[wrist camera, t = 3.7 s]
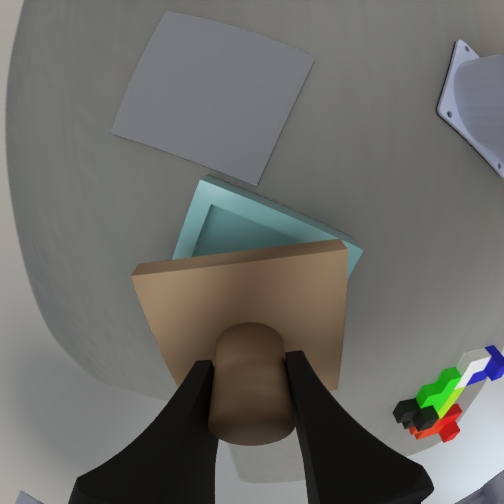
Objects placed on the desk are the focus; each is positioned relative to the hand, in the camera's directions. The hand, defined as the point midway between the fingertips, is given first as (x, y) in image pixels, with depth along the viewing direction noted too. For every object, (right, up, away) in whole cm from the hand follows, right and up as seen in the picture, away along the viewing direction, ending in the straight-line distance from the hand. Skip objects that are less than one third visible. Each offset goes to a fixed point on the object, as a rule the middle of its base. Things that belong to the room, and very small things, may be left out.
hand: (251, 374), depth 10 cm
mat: (-3, +14, +4) cm, 15 cm away
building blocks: (+23, -13, +16) cm, 31 cm away
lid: (0, +1, +2) cm, 2 cm away
